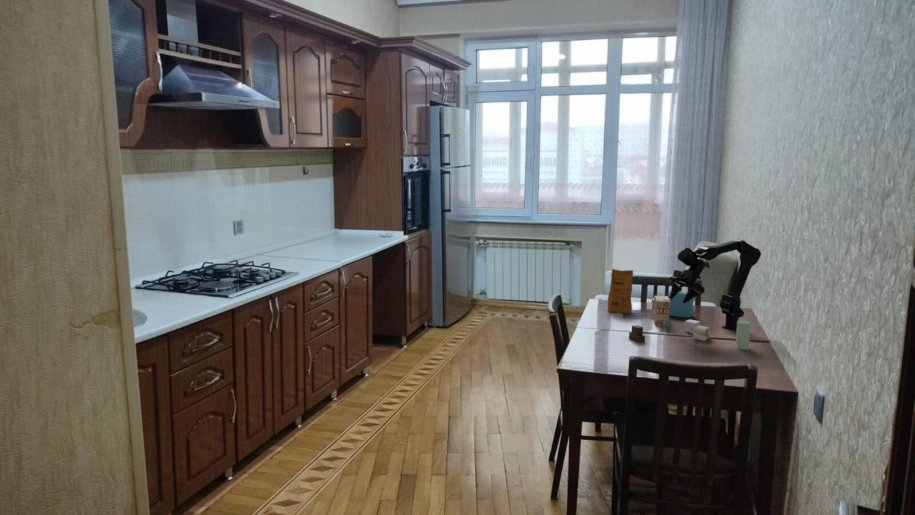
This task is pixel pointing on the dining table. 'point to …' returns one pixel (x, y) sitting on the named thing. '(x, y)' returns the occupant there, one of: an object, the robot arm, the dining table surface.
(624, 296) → the coffee package
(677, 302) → the light blue box
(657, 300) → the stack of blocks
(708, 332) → the oatmeal cube
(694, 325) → the light grey cube
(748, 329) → the sage green block
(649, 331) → the dining table surface
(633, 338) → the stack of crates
